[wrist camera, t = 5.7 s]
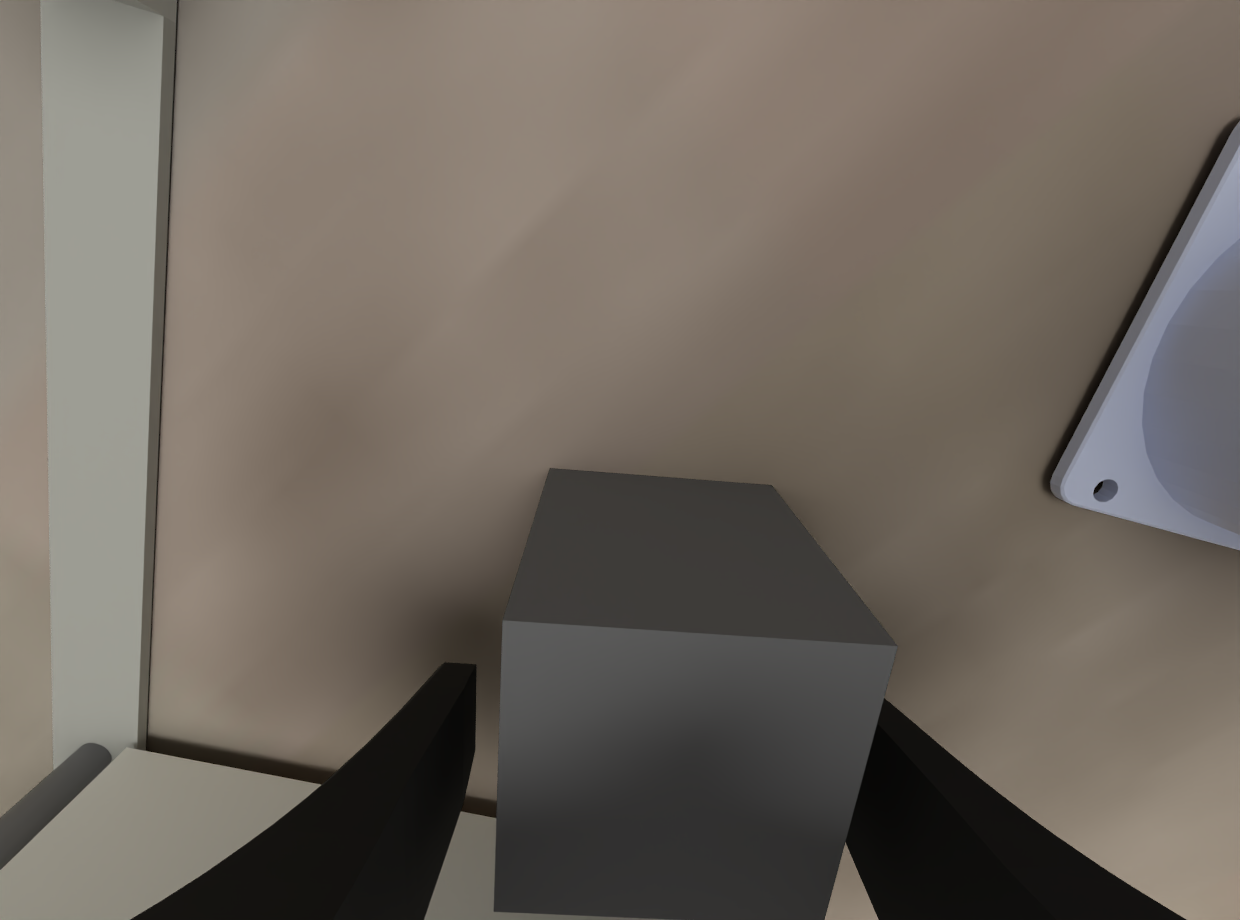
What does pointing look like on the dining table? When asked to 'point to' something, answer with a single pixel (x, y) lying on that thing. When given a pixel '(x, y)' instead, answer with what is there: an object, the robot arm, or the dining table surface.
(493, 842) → the door
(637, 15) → the dining table surface
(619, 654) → the dark grey block
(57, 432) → the grey u-shaped bar
